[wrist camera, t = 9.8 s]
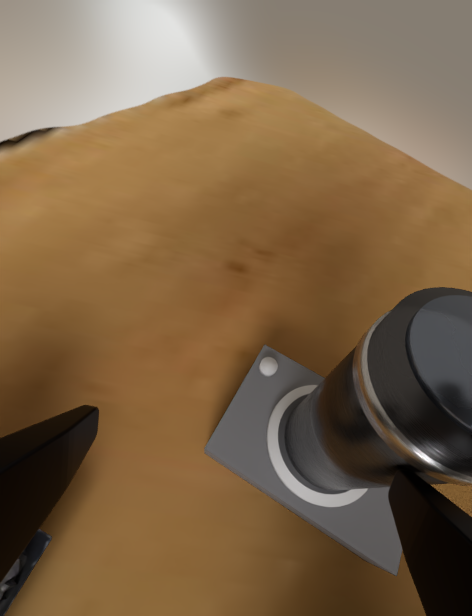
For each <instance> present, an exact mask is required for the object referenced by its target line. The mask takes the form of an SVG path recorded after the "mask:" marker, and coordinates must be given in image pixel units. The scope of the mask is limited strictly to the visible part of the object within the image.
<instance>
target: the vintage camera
mask: <svg viewBox="0 0 472 616" xmlns="http://www.w3.org/2000/svg"><path fill="white" fill-rule="evenodd" d="M51 539H52V536H50V535H49V534H47V533H45V532H44V531H42V530H40V529H38V530H37V532H36V533H35V535H34V536H33V538H32V539H31V540H30V542H29V543H28V545H27V546H26V548H25V549H24V550H23V552H22V553H21V555H20V556H19V558H18V559H17V560H16V562H15V563H14V565H13V566H12V568H11V569H10V570H9V572H8V573H7V575H6V576H5V578H4V579H3V580H2V582H1V583H0V616H4V615H5V613H6V612H7V610H8V608H9V607H10V605H11V604H12V602H13V600H14V599H15V597H16V596H17V594H18V592H19V591H20V589H21V587H22V586H23V584H24V583H25V581H26V579H27V578H28V576H29V575H30V573H31V571H32V570H33V568H34V566H35V565H36V563H37V562H38V560H39V558H40V557H41V555H42V554H43V552H44V550H45V549H46V547H47V546H48V544H49V542H50V541H51Z"/></svg>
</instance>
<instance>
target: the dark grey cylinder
mask: <svg viewBox="0 0 472 616" xmlns="http://www.w3.org/2000/svg"><path fill="white" fill-rule="evenodd" d="M284 439H285V447H286V451H287V454H288V457H289V459H290V461H291V463H292V465H293V467H294V468H295V469H296V471H297V472H298V473H299V474H300V475H301V476H302V477H303V478H304V479H305V480H306V481H308V482H309V483H311V484H312V485H314V486H316V487H318V488H321V489H325V490H350V489H366V488H382V487H390V486H391V483H392V481H393V478H394V475H395V473H396V471H397V470H400V469H402V470H407V471H411V472H414V473H415V474H417V475H418V476H419V477H421V478H422V479H423V480H424V481H426V482H427V483H428V484H446V483H451V484H456V485H462V486H472V292H469V291H466V290H461V289H455V288H445V287H438V288H428V289H423V290H420V291H417V292H414V293H412V294H410V295H408V296H407V297H405V298H404V299H403V300H401V301H400V302H399V303H398V304H397V305H396V306H395V307H394V308H393V309H392V310H391V311H389V312H387V313H385V314H384V315H383V316H381V317H380V318H379V319H378V320H377V321H376V322H375V323H374V324H373V325H372V326H371V327H370V328H369V329H368V330H367V332H366V333H365V334H364V335H363V336H362V338H361V339H360V341H359V342H358V345H357V346H356V347H355V348H354V349H353V350H352V351H351V352H350V353H349V354H348V355H347V356H346V357H345V358H344V359H343V360H342V361H341V362H340V363H339V364H338V365H337V366H336V368H335V369H334V370H333V371H332V372H331V373H330V374H329V375H328V376H327V377H326V378H325V379H324V380H323V381H322V382H321V383H320V384H319V385H318V386H317V387H316V388H315V389H314V390H313V391H312V392H311V393H310V394H309V395H308V396H307V397H306V398H305V399H304V400H303V401H302V402H301V403H300V404H299V405H298V406H297V407H296V408H295V409H294V410H293V412H292V413H291V415H290V416H289V418H288V420H287V423H286V427H285V435H284Z"/></svg>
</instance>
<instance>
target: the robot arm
mask: <svg viewBox="0 0 472 616" xmlns="http://www.w3.org/2000/svg"><path fill="white" fill-rule="evenodd" d="M98 418H99V409H98V408H97V407H94V406H89V405H83V406H80V407H78V408H75V409H73V410H70V411H68V412H65V413H62V414H60V415H57V416H55V417H52V418H50V419H47V420H45V421H42V422H40V423H37V424H35V425H32V426H30V427H27V428H25V429H22V430H20V431H17V432H15V433H12V434H10V435H7V436H5V437H2V438H0V583H1V582H2V580H3V579H4V578H5V576H6V575H7V573H8V572H9V570H10V569H11V568H12V566H13V565H14V563H15V562H16V560H17V559H18V558H19V556H20V555H21V553H22V552H23V550H24V549H25V548H26V546H27V545H28V543H29V542H30V540H31V539H32V538H33V536H34V535H35V533H36V532H37V530H38V529H39V528H40V526H41V525H42V523H43V522H44V521H45V519H46V518H47V516H48V515H49V513H50V512H51V511H52V509H53V508H54V506H55V505H56V503H57V502H58V501H59V499H60V498H61V496H62V495H63V493H64V492H65V490H66V489H67V487H68V485H69V484H70V482H71V480H72V479H73V477H74V475H75V473H76V471H77V470H78V468H79V466H80V464H81V463H82V461H83V459H84V457H85V456H86V454H87V452H88V450H89V449H90V447H91V445H92V443H93V441H94V440H95V437H96V435H97V430H98ZM388 500H389V504H390V507H391V511H392V514H393V518H394V521H395V525H396V528H397V532H398V535H399V539H400V543H401V546H402V550H403V553H404V556H405V559H406V562H407V565H408V568H409V571H410V573H411V576H412V579H413V581H414V584H415V586H416V589H417V592H418V594H419V597H420V600H421V602H422V605H423V608H424V610H425V613H426V616H472V517H471V516H469V515H468V514H467V513H465V512H464V511H463V510H462V509H460V508H459V507H458V506H456V505H455V504H454V503H453V502H451V501H450V500H449V499H447V498H446V497H445V496H444V495H442V494H441V493H440V492H438V491H437V490H436V489H435V488H433V487H432V486H431V485H430V484H428V483H427V482H426V481H424V480H423V479H422V478H421V477H419V476H418V475H417V474H415V473H414V472H411V471H407V470H402V469H400V470H397V471H396V473H395V475H394V478H393V481H392V483H391V486H390V488H389V491H388Z"/></svg>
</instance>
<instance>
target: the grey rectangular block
mask: <svg viewBox="0 0 472 616" xmlns="http://www.w3.org/2000/svg"><path fill="white" fill-rule="evenodd" d="M324 379H325V378H324V377H322V376H320V375H318V374H316V373H315V372H313V371H311V370H309V369H308V368H306V367H304V366H302V365H300V364H299V363H297V362H295V361H293V360H291V359H290V358H288V357H286V356H284V355H283V354H281V353H279V352H277V351H275V350H274V349H272V348H270V347H268V346H267V345H264V346H263V348H262V350H261V352H260V353H259V355H258V357H257V358H256V360H255V362H254V364H253V365H252V367H251V369H250V371H249V372H248V374H247V376H246V377H245V379H244V381H243V383H242V384H241V386H240V388H239V390H238V391H237V393H236V395H235V396H234V398H233V400H232V402H231V403H230V405H229V407H228V409H227V410H226V412H225V414H224V415H223V417H222V419H221V421H220V422H219V424H218V426H217V428H216V429H215V431H214V433H213V434H212V436H211V438H210V440H209V441H208V443H207V445H206V447H205V448H204V449H205V454H207V455H208V456H210V457H211V458H213V459H214V460H216V461H217V462H219V463H220V464H222V465H223V466H225V467H226V468H228V469H229V470H231V471H232V472H234V473H235V474H237V475H238V476H240V477H241V478H242V479H244V480H245V481H247V482H248V483H250V484H251V485H253V486H254V487H256V488H257V489H259V490H260V491H262V492H263V493H265V494H266V495H268V496H269V497H271V498H272V499H274V500H275V501H277V502H278V503H280V504H281V505H283V506H284V507H286V508H287V509H289V510H290V511H292V512H293V513H295V514H296V515H298V516H299V517H301V518H302V519H304V520H305V521H307V522H308V523H310V524H311V525H313V526H314V527H316V528H317V529H319V530H320V531H322V532H323V533H325V534H326V535H328V536H329V537H331V538H332V539H334V540H335V541H337V542H338V543H340V544H341V545H343V546H344V547H346V548H347V549H349V550H350V551H352V552H353V553H355V554H356V555H358V556H359V557H361V558H362V559H364V560H365V561H367V562H369V563H371V564H373V565H375V566H377V567H379V568H381V569H383V570H385V571H387V572H389V573H391V574H393V575H395V576H397V573H398V568H399V563H400V558H401V553H402V546H401V543H400V539H399V535H398V532H397V528H396V525H395V521H394V518H393V514H392V511H391V507H390V504H389V500H388V491H389V488H390V487H382V488H366V489H350V490H325V489H321V488H318V487H316V486H314V485H312V484H311V483H309V482H308V481H306V480H305V479H304V478H303V477H302V476H301V475H300V474H299V473H298V472H297V471H296V469H295V468H294V467H293V465H292V463H291V461H290V459H289V457H288V454H287V451H286V447H285V439H284V435H285V427H286V423H287V420H288V418H289V416H290V415H291V413H292V412H293V410H294V409H295V408H296V407H297V406H298V405H299V404H300V403H301V402H302V401H303V400H304V399H305V398H306V397H307V396H308V395H309V394H310V393H311V392H312V391H313V390H314V389H315V388H316V387H317V386H318V385H319V384H320V383H321V382H322V381H323V380H324Z"/></svg>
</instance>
